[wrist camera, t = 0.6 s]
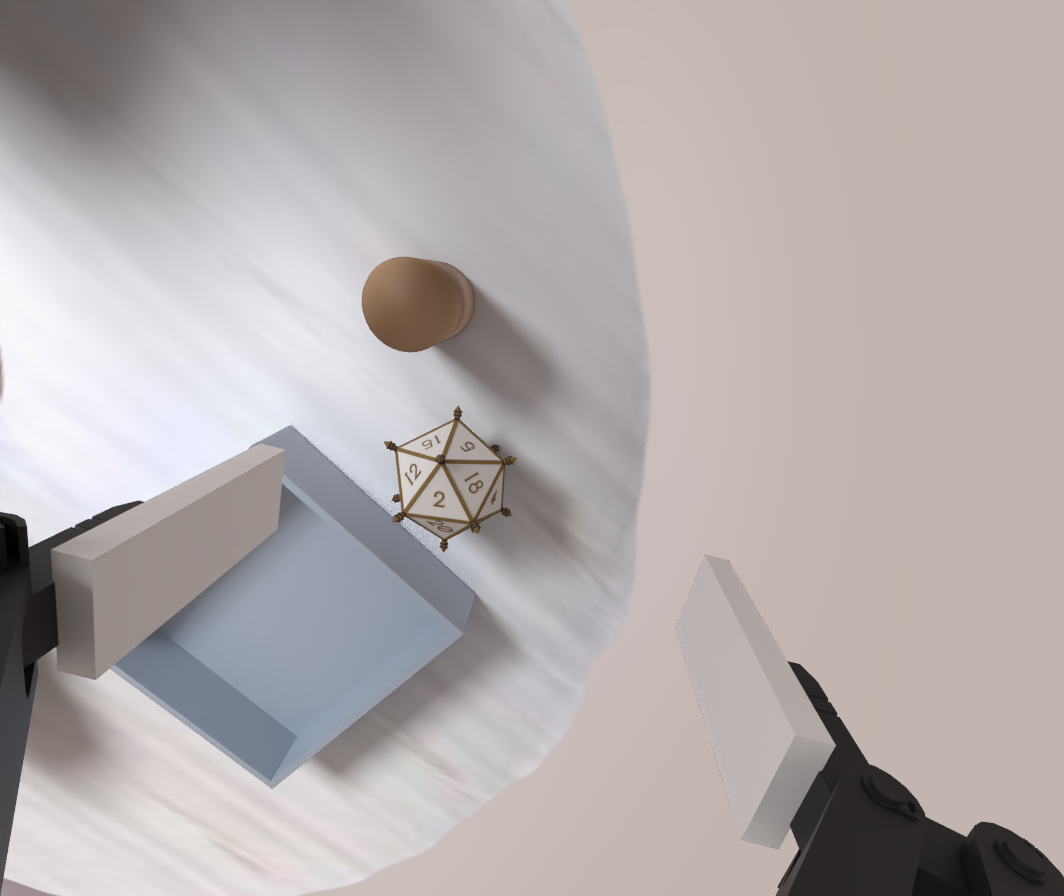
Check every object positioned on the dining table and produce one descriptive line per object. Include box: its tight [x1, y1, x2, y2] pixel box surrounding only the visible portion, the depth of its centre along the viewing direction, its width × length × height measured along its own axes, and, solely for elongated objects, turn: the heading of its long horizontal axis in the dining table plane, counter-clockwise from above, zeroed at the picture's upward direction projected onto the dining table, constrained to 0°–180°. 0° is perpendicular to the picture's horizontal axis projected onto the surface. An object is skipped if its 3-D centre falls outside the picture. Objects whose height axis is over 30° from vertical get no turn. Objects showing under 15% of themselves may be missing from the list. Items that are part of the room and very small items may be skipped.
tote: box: [110, 425, 476, 789], centre depth 40 cm, size 19×23×5 cm
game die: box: [384, 406, 516, 552], centre depth 34 cm, size 9×8×10 cm
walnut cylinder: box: [362, 257, 474, 352], centre depth 31 cm, size 5×5×7 cm
